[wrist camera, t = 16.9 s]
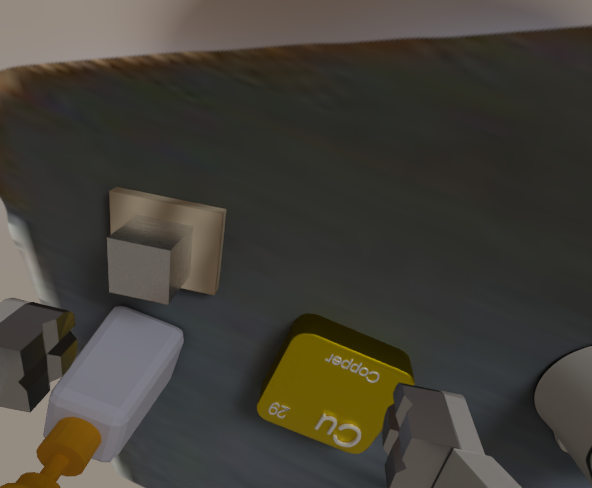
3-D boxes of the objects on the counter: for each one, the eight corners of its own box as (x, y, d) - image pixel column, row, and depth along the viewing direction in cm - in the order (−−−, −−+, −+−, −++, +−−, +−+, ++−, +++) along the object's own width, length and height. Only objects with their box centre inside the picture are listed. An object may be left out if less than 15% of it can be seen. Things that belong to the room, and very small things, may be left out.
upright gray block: (193, 225, 42) (170, 250, 36) (190, 274, 44) (168, 304, 39) (137, 214, 42) (107, 237, 36) (138, 263, 44) (109, 292, 39)
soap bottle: (98, 374, 55) (-45, 557, 35) (117, 298, 49) (-43, 464, 29) (164, 400, 55) (61, 593, 35) (190, 327, 49) (83, 510, 29)
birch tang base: (226, 209, 42) (210, 229, 37) (218, 288, 46) (202, 315, 41) (116, 186, 42) (86, 203, 37) (118, 267, 47) (91, 292, 42)
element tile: (416, 353, 48) (423, 383, 43) (359, 430, 54) (360, 463, 50) (301, 306, 47) (297, 331, 42) (258, 390, 53) (250, 419, 49)
